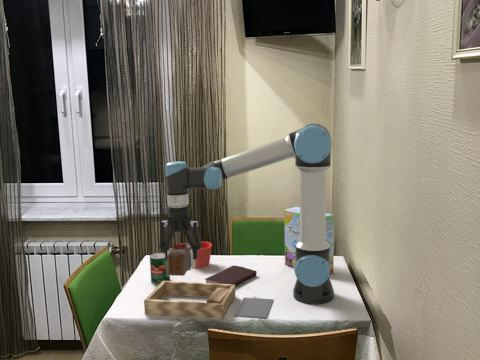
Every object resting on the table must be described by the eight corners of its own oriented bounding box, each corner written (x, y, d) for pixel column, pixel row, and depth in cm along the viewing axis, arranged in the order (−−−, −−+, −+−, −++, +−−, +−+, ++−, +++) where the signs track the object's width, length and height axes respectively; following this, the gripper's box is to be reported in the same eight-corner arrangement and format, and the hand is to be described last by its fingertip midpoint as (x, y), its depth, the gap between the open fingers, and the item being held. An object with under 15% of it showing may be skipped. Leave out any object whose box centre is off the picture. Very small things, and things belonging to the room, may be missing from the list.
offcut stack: (231, 299, 192) (230, 287, 191) (221, 316, 177) (221, 303, 177) (215, 298, 193) (214, 286, 192) (204, 315, 179) (203, 302, 178)
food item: (175, 263, 193) (174, 238, 191) (196, 263, 192) (195, 238, 190) (166, 276, 179) (164, 248, 178) (189, 276, 178) (187, 248, 177)
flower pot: (198, 271, 223) (197, 249, 221) (183, 265, 231) (182, 244, 230) (217, 265, 230) (216, 244, 229) (202, 260, 238) (201, 240, 237)
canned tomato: (169, 276, 217) (168, 251, 215) (171, 283, 210) (170, 257, 208) (150, 278, 215) (148, 253, 214) (151, 285, 208) (150, 259, 206)
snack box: (283, 266, 228) (282, 209, 224) (296, 261, 234) (296, 206, 230) (321, 278, 212) (322, 217, 208) (334, 272, 218) (335, 213, 214)
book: (257, 277, 216) (257, 270, 215) (229, 292, 200) (229, 284, 200) (233, 272, 223) (232, 264, 223) (204, 285, 208) (204, 278, 207)
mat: (272, 300, 190) (272, 299, 190) (266, 318, 175) (266, 317, 175) (243, 298, 192) (243, 297, 192) (234, 316, 177) (234, 315, 177)
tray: (235, 297, 194) (235, 284, 193) (223, 319, 175) (223, 305, 174) (163, 293, 199) (163, 280, 199) (144, 313, 181) (144, 300, 180)
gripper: (146, 207, 180) (150, 270, 184) (203, 208, 176) (206, 271, 180) (154, 203, 188) (158, 263, 191) (209, 203, 183) (212, 264, 187)
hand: (181, 267), depth 186 cm, fingers closed on food item, 8 cm apart
